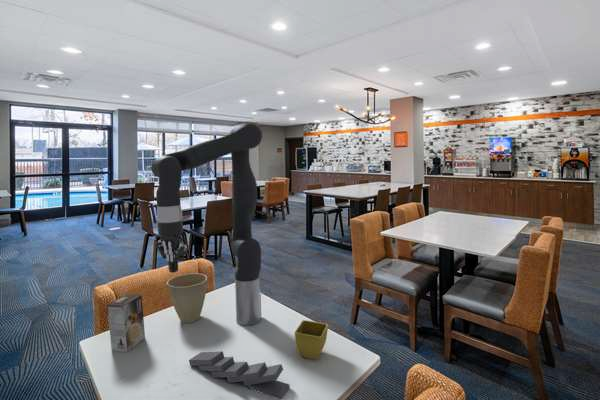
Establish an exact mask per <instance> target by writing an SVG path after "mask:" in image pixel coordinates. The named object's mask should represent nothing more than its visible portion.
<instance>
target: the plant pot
mask: <svg viewBox="0 0 600 400" xmlns="http://www.w3.org/2000/svg"><path fill="white" fill-rule="evenodd" d="M207 283H208V276H207V275H206V274H203V273H185V274H180V275H177V276H173V277H171V278H170V279H168V281H167V282H166V284H167V288H168V293H169V296H170V301H171V303H172V305H173V308H174V311H175V313H176V315H177V317H178V318H179V321H180V322H182V323H193V322H195V321H197V320H199V319H200V317H201V314H202V311H203V307H204V303H205V300H206V299H205V298H206V294H207V293H206V292H207V286H208V285H207Z"/></svg>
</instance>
